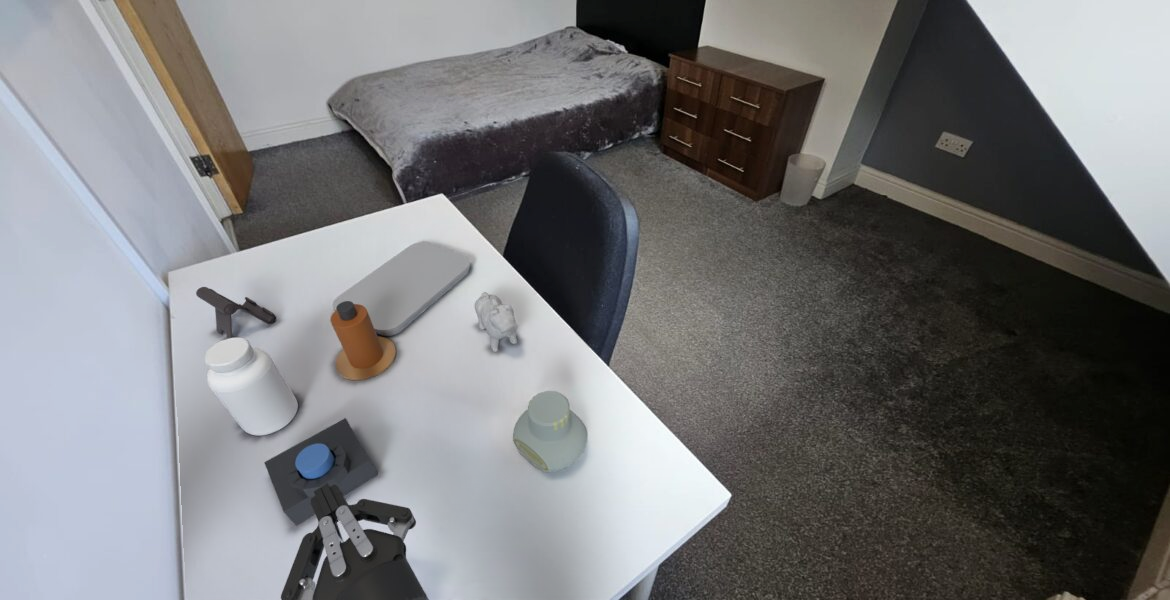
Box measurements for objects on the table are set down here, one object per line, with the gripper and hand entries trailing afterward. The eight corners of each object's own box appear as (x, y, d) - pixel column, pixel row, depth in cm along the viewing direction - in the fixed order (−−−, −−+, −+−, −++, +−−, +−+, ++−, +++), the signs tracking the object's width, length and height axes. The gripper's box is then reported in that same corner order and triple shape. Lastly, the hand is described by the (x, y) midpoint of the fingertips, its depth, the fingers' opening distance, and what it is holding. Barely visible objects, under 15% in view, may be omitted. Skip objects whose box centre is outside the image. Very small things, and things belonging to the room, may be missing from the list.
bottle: (356, 373, 80) (333, 323, 72) (344, 354, 83) (320, 304, 75) (388, 358, 83) (369, 307, 75) (375, 340, 86) (355, 290, 78)
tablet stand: (279, 320, 90) (259, 287, 84) (238, 346, 85) (214, 312, 79) (251, 304, 93) (231, 271, 88) (211, 328, 88) (186, 294, 82)
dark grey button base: (298, 531, 61) (279, 510, 57) (276, 476, 66) (257, 454, 62) (380, 479, 66) (368, 457, 62) (353, 432, 72) (341, 409, 68)
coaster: (349, 390, 78) (348, 388, 78) (327, 355, 83) (326, 354, 83) (405, 360, 83) (405, 358, 83) (382, 330, 88) (381, 328, 88)
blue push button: (307, 485, 60) (300, 477, 58) (297, 463, 62) (290, 455, 61) (338, 466, 62) (333, 458, 60) (328, 446, 64) (322, 437, 63)
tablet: (328, 314, 91) (324, 305, 90) (421, 247, 109) (419, 238, 107) (391, 343, 86) (387, 334, 85) (478, 267, 103) (476, 259, 102)
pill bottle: (304, 420, 73) (262, 356, 63) (245, 446, 70) (192, 382, 60) (295, 387, 78) (255, 322, 68) (239, 409, 75) (189, 344, 65)
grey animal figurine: (501, 367, 82) (495, 323, 75) (474, 323, 90) (466, 280, 83) (528, 355, 85) (525, 312, 77) (499, 313, 93) (493, 270, 85)
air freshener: (505, 444, 71) (499, 404, 64) (543, 409, 76) (540, 368, 69) (559, 488, 66) (557, 450, 59) (596, 448, 71) (598, 409, 64)
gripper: (451, 565, 42) (372, 436, 52) (293, 690, 35) (237, 515, 45) (464, 593, 47) (390, 470, 57) (328, 707, 40) (271, 546, 50)
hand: (323, 490), depth 51 cm, fingers closed
